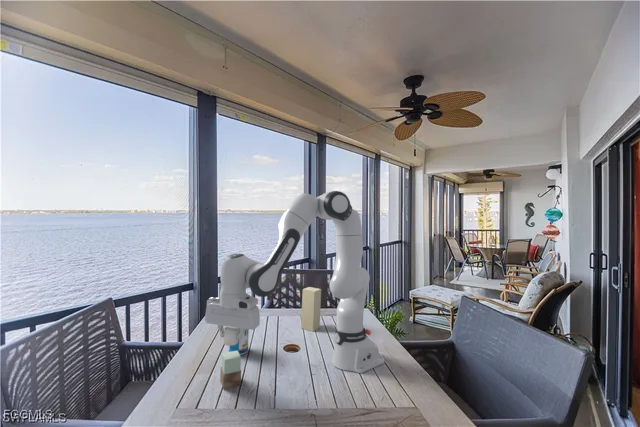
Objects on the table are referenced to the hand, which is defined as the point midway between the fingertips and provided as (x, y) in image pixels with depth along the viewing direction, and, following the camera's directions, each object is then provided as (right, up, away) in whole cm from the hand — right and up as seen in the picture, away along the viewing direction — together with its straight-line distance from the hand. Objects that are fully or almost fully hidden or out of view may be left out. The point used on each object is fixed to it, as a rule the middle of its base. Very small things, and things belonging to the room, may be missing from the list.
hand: (231, 338), depth 108 cm
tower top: (0, -11, 0) cm, 11 cm away
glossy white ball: (0, -2, 0) cm, 2 cm away
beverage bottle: (-4, -16, +24) cm, 29 cm away
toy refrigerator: (+27, -17, +54) cm, 62 cm away
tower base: (0, -16, 0) cm, 16 cm away
